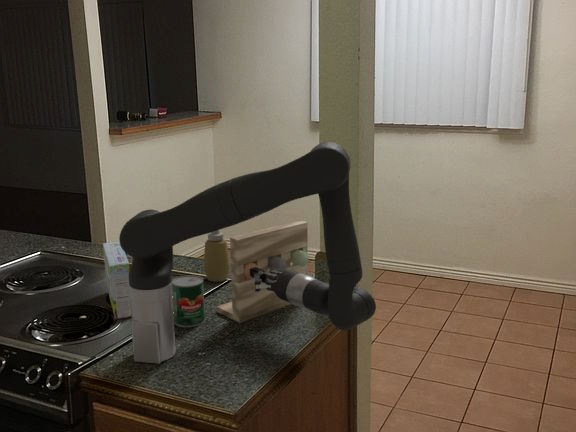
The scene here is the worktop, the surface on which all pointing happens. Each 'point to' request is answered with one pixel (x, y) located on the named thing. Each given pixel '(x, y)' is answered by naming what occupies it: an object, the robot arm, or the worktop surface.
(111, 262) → the snack box
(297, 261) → the sage button
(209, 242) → the squeeze bottle
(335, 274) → the robot arm
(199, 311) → the canned tomato
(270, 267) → the grey button
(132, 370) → the worktop surface
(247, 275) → the terracotta button
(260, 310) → the button panel
